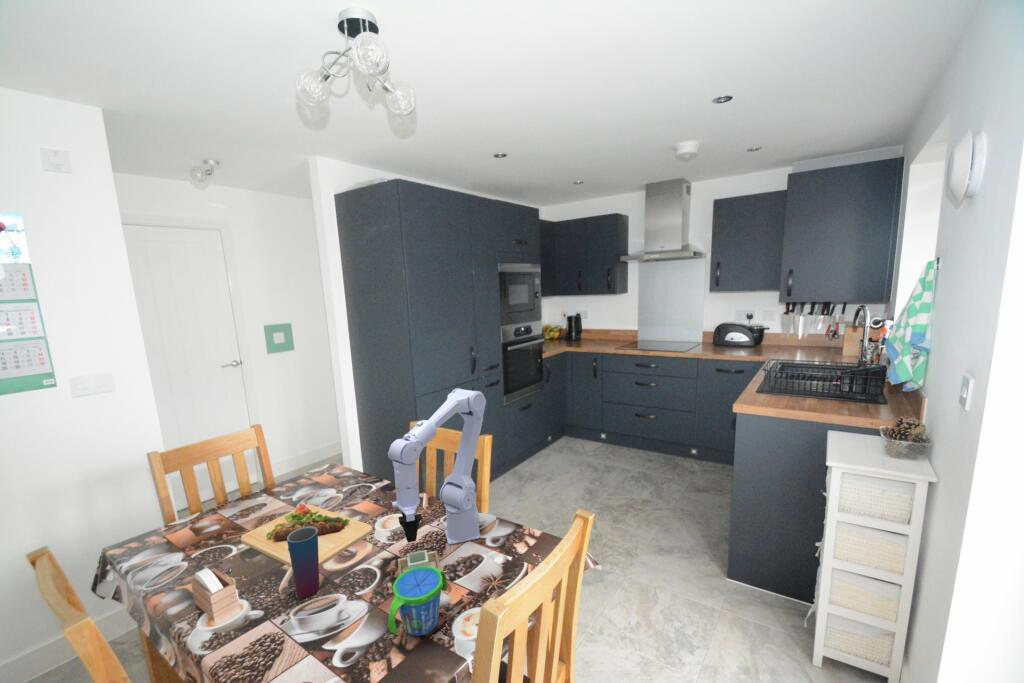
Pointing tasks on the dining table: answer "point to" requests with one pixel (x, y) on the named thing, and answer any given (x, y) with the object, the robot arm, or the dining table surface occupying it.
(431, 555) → the beige wooden tray
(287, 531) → the cutting board
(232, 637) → the dining table surface
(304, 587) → the cup
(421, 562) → the small crate
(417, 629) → the snack cup
